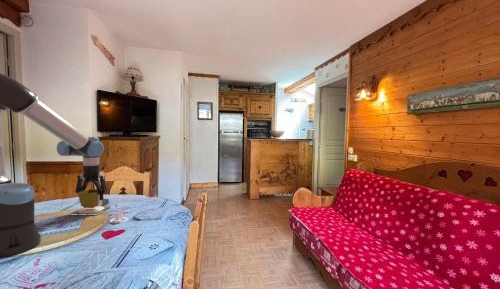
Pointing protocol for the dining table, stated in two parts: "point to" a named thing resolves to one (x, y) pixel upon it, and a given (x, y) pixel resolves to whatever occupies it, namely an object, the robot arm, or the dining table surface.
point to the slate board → (91, 210)
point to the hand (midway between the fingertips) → (91, 205)
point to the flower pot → (89, 198)
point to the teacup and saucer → (118, 218)
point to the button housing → (105, 202)
